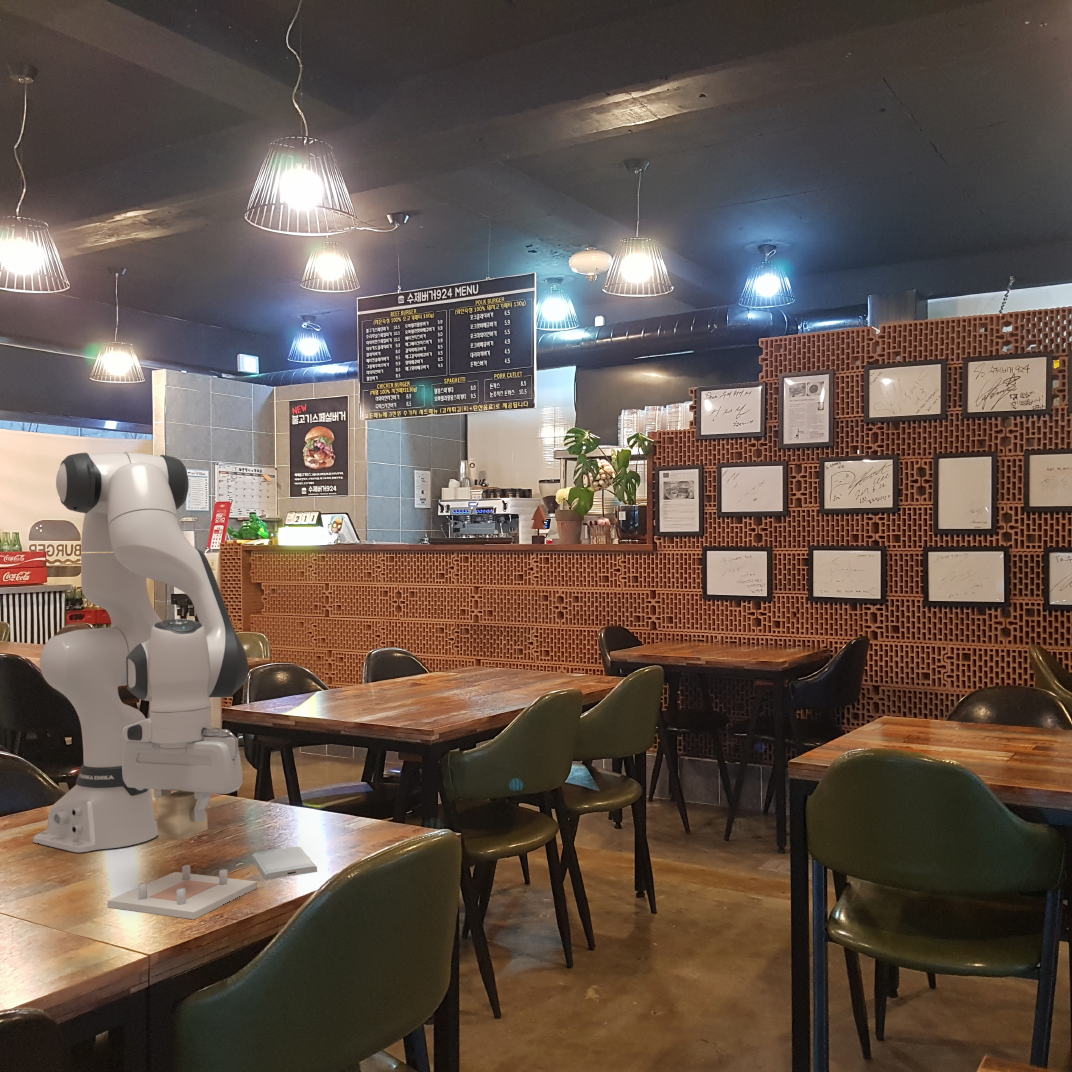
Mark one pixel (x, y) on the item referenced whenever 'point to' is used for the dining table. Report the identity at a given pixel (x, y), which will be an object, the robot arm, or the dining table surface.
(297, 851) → the hard drive
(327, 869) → the dining table surface
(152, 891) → the pin base
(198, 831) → the maple block
